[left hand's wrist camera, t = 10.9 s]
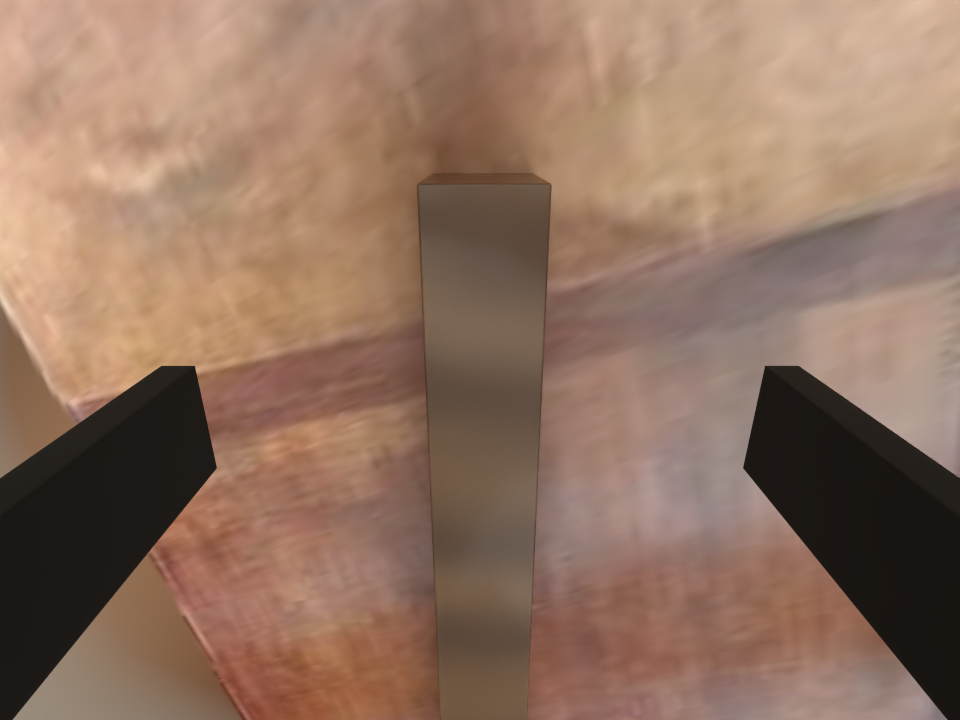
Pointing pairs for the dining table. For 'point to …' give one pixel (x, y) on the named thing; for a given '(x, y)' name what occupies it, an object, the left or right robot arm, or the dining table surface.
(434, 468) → the bar
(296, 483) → the dining table surface
